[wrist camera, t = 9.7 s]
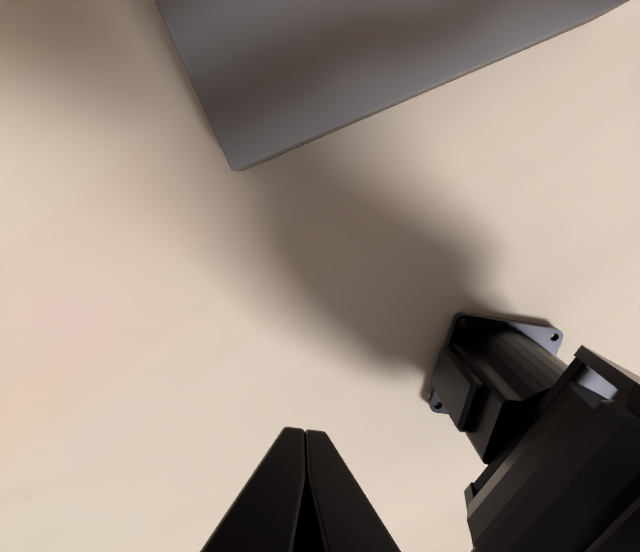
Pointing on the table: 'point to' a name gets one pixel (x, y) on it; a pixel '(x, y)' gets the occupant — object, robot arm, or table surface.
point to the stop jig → (342, 58)
